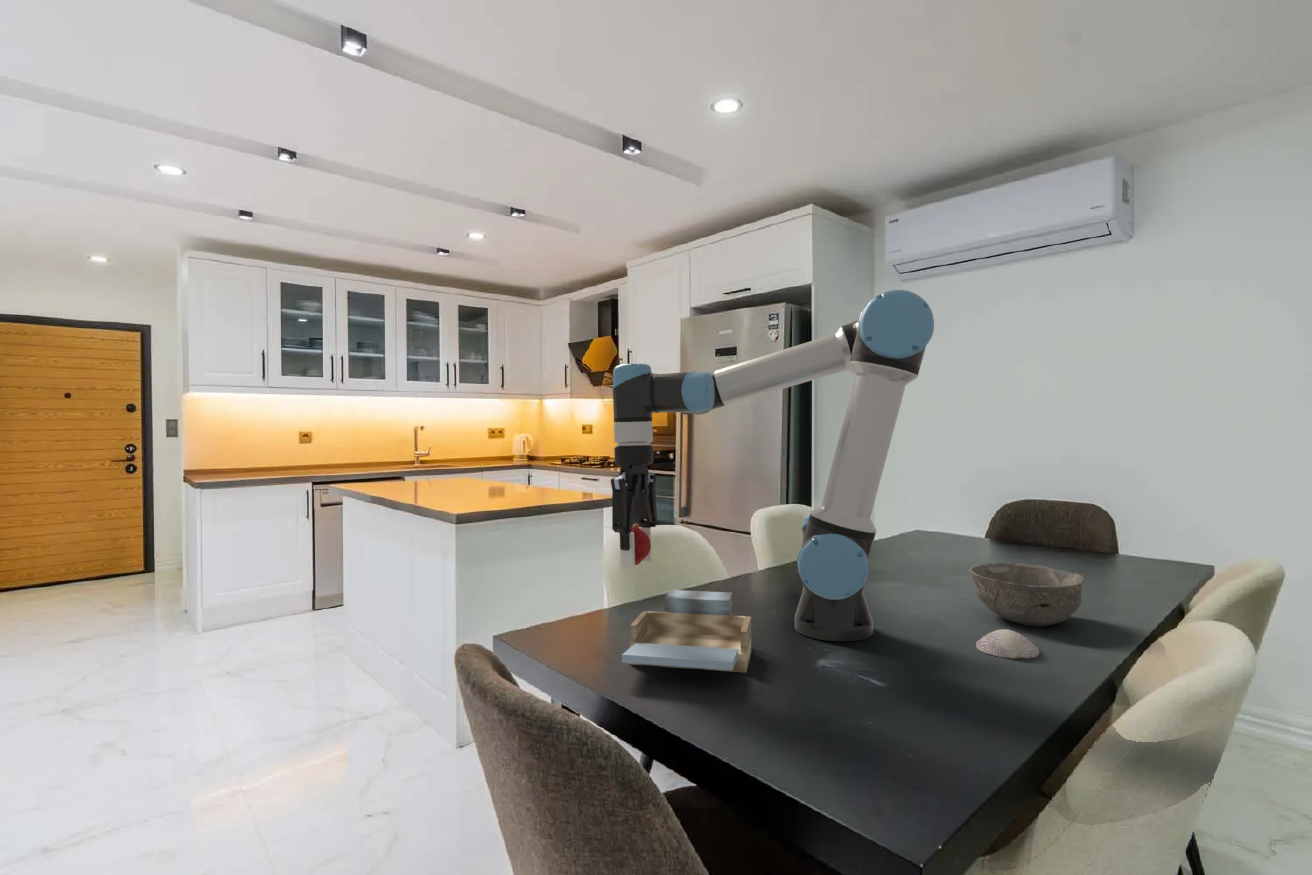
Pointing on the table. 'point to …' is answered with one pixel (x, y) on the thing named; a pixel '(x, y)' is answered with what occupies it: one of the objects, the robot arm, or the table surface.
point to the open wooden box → (696, 625)
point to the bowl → (1028, 592)
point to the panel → (681, 656)
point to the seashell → (1007, 645)
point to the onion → (640, 544)
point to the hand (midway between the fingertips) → (636, 563)
